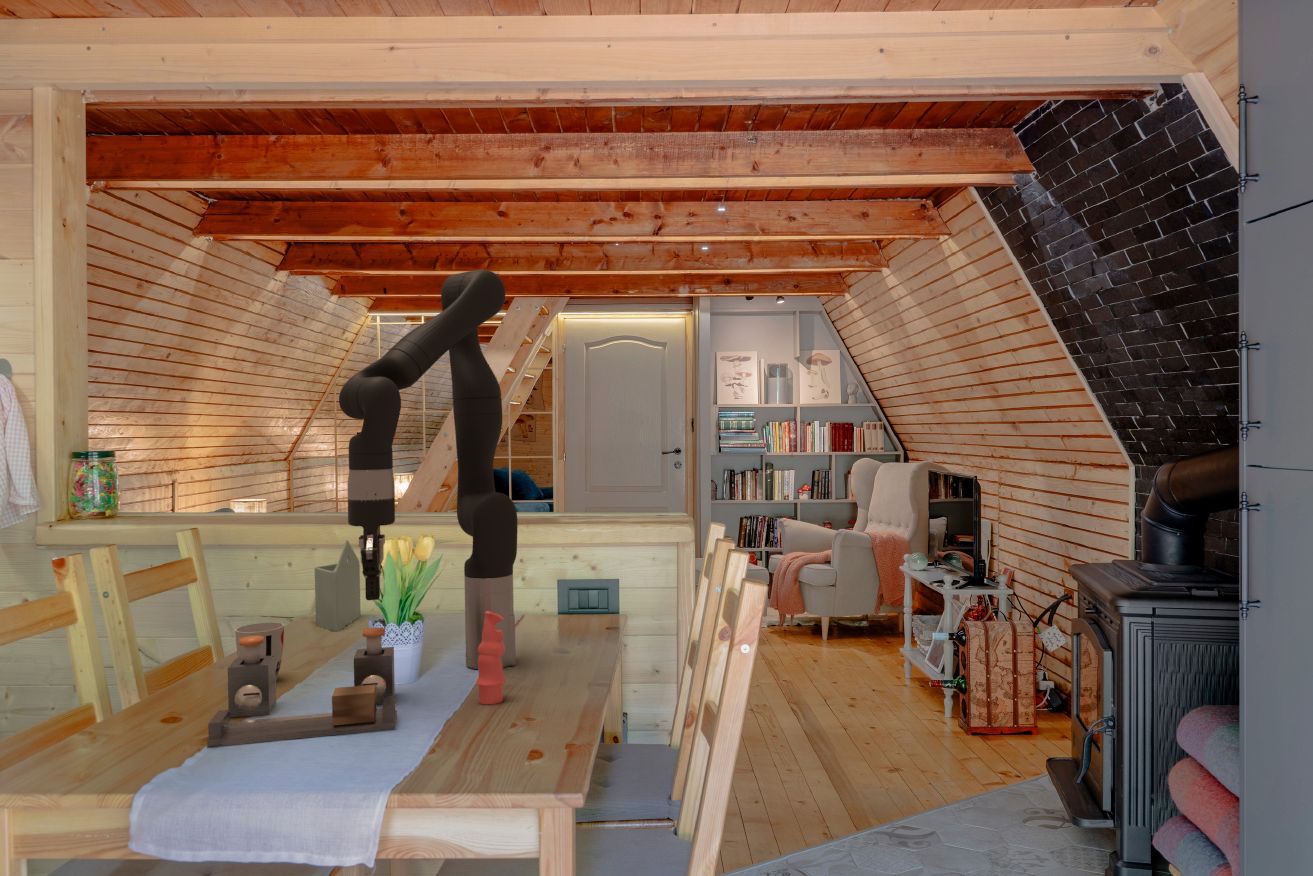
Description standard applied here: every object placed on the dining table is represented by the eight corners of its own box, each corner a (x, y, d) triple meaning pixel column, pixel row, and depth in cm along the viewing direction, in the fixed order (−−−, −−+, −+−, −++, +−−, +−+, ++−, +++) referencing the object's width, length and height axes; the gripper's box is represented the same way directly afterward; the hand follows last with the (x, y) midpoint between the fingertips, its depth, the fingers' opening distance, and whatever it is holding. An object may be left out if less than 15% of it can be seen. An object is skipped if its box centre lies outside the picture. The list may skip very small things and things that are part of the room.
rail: (396, 716, 138) (396, 695, 137) (394, 729, 132) (394, 707, 132) (217, 733, 131) (217, 710, 131) (207, 747, 125) (206, 723, 125)
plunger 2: (386, 651, 148) (385, 626, 148) (384, 656, 145) (384, 631, 145) (363, 653, 147) (363, 628, 147) (362, 658, 144) (361, 633, 144)
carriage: (376, 712, 136) (376, 684, 136) (374, 721, 132) (373, 692, 132) (335, 716, 135) (335, 687, 134) (332, 725, 130) (331, 696, 130)
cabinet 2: (394, 693, 150) (393, 646, 150) (392, 704, 144) (391, 656, 144) (358, 696, 148) (357, 649, 148) (354, 707, 142) (353, 659, 142)
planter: (328, 616, 212) (326, 536, 212) (361, 616, 212) (359, 535, 212) (302, 632, 196) (300, 545, 196) (337, 632, 196) (335, 544, 196)
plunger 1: (266, 660, 144) (265, 635, 144) (261, 666, 140) (261, 640, 140) (242, 662, 143) (241, 636, 143) (237, 667, 139) (237, 641, 139)
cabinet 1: (276, 703, 145) (275, 655, 145) (268, 715, 139) (267, 665, 139) (237, 706, 144) (236, 658, 144) (228, 718, 138) (226, 668, 138)
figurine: (512, 697, 147) (511, 608, 146) (497, 706, 142) (496, 615, 142) (486, 694, 148) (484, 607, 148) (470, 703, 143) (468, 613, 143)
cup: (266, 689, 153) (265, 633, 153) (226, 687, 155) (224, 631, 154) (294, 676, 161) (293, 622, 161) (255, 674, 163) (254, 621, 162)
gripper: (392, 498, 140) (394, 605, 140) (396, 492, 153) (398, 591, 153) (343, 500, 139) (345, 608, 139) (351, 494, 151) (353, 593, 152)
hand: (372, 599), depth 146 cm, fingers closed
